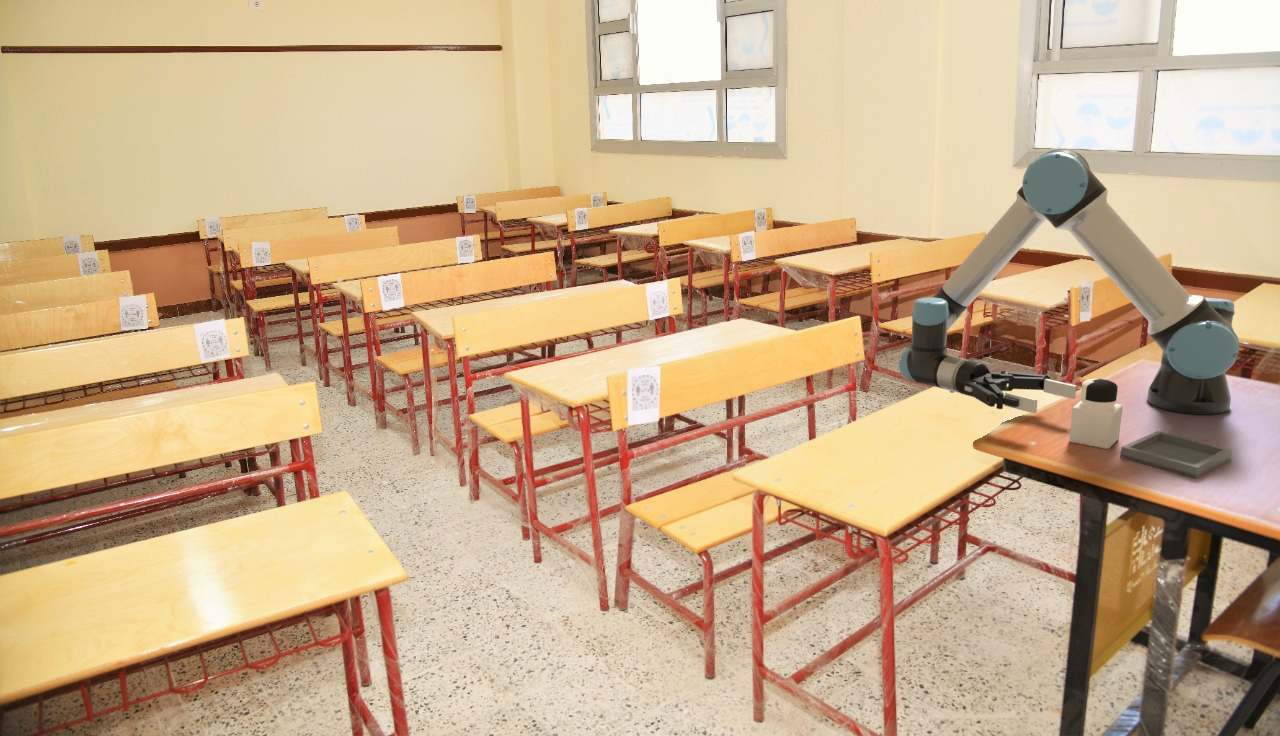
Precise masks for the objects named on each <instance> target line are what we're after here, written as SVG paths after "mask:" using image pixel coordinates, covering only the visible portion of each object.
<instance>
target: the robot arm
mask: <svg viewBox="0 0 1280 736" xmlns="http://www.w3.org/2000/svg"><path fill="white" fill-rule="evenodd" d="M1090 168H1091V167H1090V166H1089V163H1088V162H1087V160H1086V158H1085V157H1084V156H1082V154H1080V153H1079V152H1077V151H1075V150H1072V149H1068V148H1057V149H1053V150H1050V151H1048V152H1045V153H1043V154H1041V155H1039V156H1038V157H1037V158H1035V159H1034V160H1033V161H1032V162H1031V163H1030V164H1028V167H1027V168H1026V170H1025V171H1024V174H1023V177H1022V184H1021V185H1022V186H1021V187H1020V188H1019V189H1018V190H1017V191H1016V200H1015V201H1013V203H1012V204H1011V206H1010V207H1009V208H1008V209H1007V210H1006V212H1005V213H1004V214H1003V215H1002V216H1001V217H1000V219H999V220H998V221H997V222H996V223H995V224H994V225H993V227H992V228H990V230H989V231H988V232H987V234H986V235H985V236H984V237H983V238H982V240H981V241H980V242H979V243H978V244H977V245H976V247H974V249H973V250H972V251H971V252H970V253H969V254H968V256H967V257H966V258H965V259H964V261H963V262H962V263H961V264H960V265H959V266H958V267H957V269H956V270H955V271H954V272H953V273H952V274H951V276H949V277H948V279H947V280H946V282H945V283H944V284H943V285H942V286H941V287H940V288H939V289H938V291H937V292H936V293H935V294H934V295H933V296H932V297H931V296H930V297H927V296H926V297H922V298H918V299H915V301H914V302H913V306H912V307H913V308H912V313H911V318H912V319H911V322H912V324H911V346H910V347H908V348H906V349H905V350H903V352H902V354H901V356H900V358H901V359H899V361H898V369H899V373H900V374H901V376H902V377H903V378H905V379H907V380H910V381H913V382H915V383H917V384H923V385H926V386H931V387H935V388H938V389H942V390H943V389H944V390H945V391H946V390H947V391H949V393H951V394H953V393H958V394H961V395H965V396H968V397H972V398H974V399H976V400H978V401H979V402H981V403H983V404H985V405H986V406H988V407H991V408H993V407H995V408H996V409H998V410H1002V409H1003V408H1004V407H1008V408H1011V409H1015V410H1020V411H1023V412H1027V413H1031V414H1036V413H1038V412H1037V411H1038V410H1037V409H1038V402H1039V401H1038V399H1037V398H1033V397H1030V396H1029V397H1028V396H1024V395H1020V394H1018V393H1013V392H1012V391H1013V390H1030V391H1035V390H1036V391H1043V393H1047V394H1052V395H1055V396H1059V397H1063V398H1067V399H1071V400H1075V399H1076V396H1077V386H1078V385H1075V384H1071V383H1067V382H1062V381H1058V380H1053V379H1051V375H1049V374H1047V373H1045V374H1037V373H1027V372H1026V373H1025V372H1017V371H1008V370H1005V369H1003V370H1000V372H990V369H989V368H988V366H987V365H986V364H985V363H983V362H978V361H975V360H969V359H967V358H962V357H959V356H958V357H957V356H953V355H948V354H946V350H947V338H948V330H949V329H950V328H951V327H952V325H953V324H954V323H955V322H957V321H958V319H959V318H960V317H961V315H963V313H964V312H965V311H966V310H967V309H968V308H969V306H970V305H971V304H972V302H974V301H975V300H976V299H977V298H978V296H979V295H980V294H981V293H982V292H983V291H984V290H985V288H986V287H987V286H988V285H989V284H990V283H991V282H992V281H993V279H994V278H995V277H996V276H997V275H998V274H999V273H1000V272H1001V271H1002V269H1003V268H1004V267H1005V266H1006V265H1007V264H1008V263H1009V262H1010V261H1011V259H1012V258H1013V257H1015V255H1016V254H1017V253H1018V251H1020V249H1021V248H1022V247H1024V245H1025V244H1026V243H1027V242H1028V241H1029V240H1030V239H1031V237H1032V236H1033V235H1034V234H1035V233H1036V232H1037V230H1038V229H1039V228H1041V226H1042V225H1044V223H1045V222H1046V221H1048V222H1049V223H1050V224H1051V225H1052V226H1053V227H1054V229H1055V230H1062V231H1068V232H1069V233H1070V234H1071V235H1072V236H1073V237H1074V239H1075V240H1076V241H1077V242H1078V243H1079V244H1080V246H1081V247H1083V249H1084V250H1085V252H1087V254H1088V255H1089V256H1090V257H1091V258H1092V259H1093V260H1094V261H1095V263H1097V265H1098V266H1099V267H1100V268H1101V269H1102V271H1103V272H1104V273H1105V274H1106V275H1107V276H1108V278H1109V279H1111V280H1112V282H1113V283H1114V284H1115V285H1116V286H1117V287H1118V288H1119V290H1120V291H1121V292H1122V293H1123V294H1124V295H1125V296H1126V297H1127V299H1128V300H1129V301H1130V302H1131V303H1132V305H1134V307H1135V308H1136V309H1137V310H1138V311H1139V312H1140V313H1141V314H1142V315H1143V317H1144V318H1145V319H1146V320H1147V321H1148V326H1147V333H1148V335H1149V336H1150V337H1151V338H1152V340H1153V341H1154V342H1155V343H1156V344H1157V346H1158V347H1159V348H1160V349H1161V350H1162V353H1161V362H1160V365H1159V368H1158V370H1157V372H1156V374H1155V376H1154V378H1153V380H1152V382H1151V383H1150V386H1149V387H1148V391H1147V396H1146V397H1147V398H1146V400H1147V402H1149V403H1150V404H1152V405H1153V406H1155V407H1158V408H1161V409H1163V410H1167V411H1172V412H1177V413H1181V414H1182V413H1183V414H1191V415H1216V414H1217V415H1218V414H1222V413H1225V412H1226V413H1227V412H1228V411H1229V410H1230V409H1231V401H1232V398H1231V397H1232V396H1231V392H1230V389H1229V384H1228V380H1227V375H1226V372H1227V371H1228V370H1229V369H1230V368H1231V367H1232V366H1233V365H1234V364H1235V362H1236V361H1237V358H1238V356H1239V351H1240V342H1239V337H1238V335H1237V333H1235V331H1234V328H1233V319H1234V315H1235V314H1236V313H1235V312H1236V311H1235V304H1234V302H1233V301H1232V300H1229V299H1225V298H1215V297H1214V298H1213V297H1204V295H1196V294H1190V293H1189V292H1188V291H1187V290H1186V289H1185V287H1183V286H1182V284H1181V283H1180V282H1179V281H1178V280H1177V278H1175V277H1174V275H1173V274H1172V273H1171V272H1170V271H1169V270H1168V269H1167V268H1166V267H1165V265H1164V264H1163V263H1162V262H1161V260H1159V259H1158V257H1157V256H1156V255H1155V254H1154V253H1153V252H1152V251H1151V250H1150V248H1148V247H1147V245H1146V244H1145V243H1144V242H1143V241H1142V239H1141V238H1139V236H1138V235H1137V234H1136V233H1135V231H1133V229H1132V228H1131V227H1130V226H1129V225H1128V224H1127V223H1126V222H1125V220H1123V219H1122V217H1120V215H1119V214H1118V213H1117V211H1115V209H1114V208H1113V207H1112V206H1111V205H1110V204H1109V203H1108V200H1107V199H1108V198H1107V197H1108V192H1109V191H1108V188H1106V186H1105V185H1104V184H1103V183H1102V182H1101V181H1100V180H1099V179H1098V177H1097V176H1096V175H1095V174H1094V173H1093V172H1092V170H1091V169H1090ZM995 405H996V406H995Z"/></svg>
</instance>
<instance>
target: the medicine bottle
mask: <svg viewBox="0 0 1280 736" xmlns="http://www.w3.org/2000/svg"><path fill="white" fill-rule="evenodd" d="M1081 383H1082V384H1081V393H1080V401H1079V402H1077V403H1076V404H1075V405H1074V406H1072V409H1071V419H1070V428H1069V438H1068V441H1069V442H1070V443H1074V444H1079V445H1083V444H1084V445H1083V446H1089V447H1093V446H1094V447H1093V448H1098V447H1099V449H1104V450H1109V449H1110V448H1111V447H1112V446H1113V445H1114V444H1115V443H1116V442H1117V441H1118V440H1119V438H1120V431H1121V422H1122V415H1123V405H1122V404H1121V403H1117V398H1118V388H1119V386H1118V384H1117V383H1115V382H1113V381H1111V380H1108V379H1105V378H1090V379H1087V380H1086V379H1085V380H1084V381H1083V382H1081Z"/></svg>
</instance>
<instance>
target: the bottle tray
mask: <svg viewBox="0 0 1280 736" xmlns="http://www.w3.org/2000/svg"><path fill="white" fill-rule="evenodd" d="M1232 454H1233V449H1230V448H1226V447H1223V446H1220V445H1215V444H1210V443H1207V442H1202V441H1199V440H1195V439H1192V438H1188V437H1187V438H1186V437H1184V436H1180V435H1174V434H1171V433H1167V432H1164V431H1159V430H1156V431H1154V432H1151V433H1150V434H1148V435H1145V436H1143V437H1141V438H1138V439H1136V440H1134V441H1132V442H1130V443H1128V444H1125V445H1123V446H1121V449H1120V456H1119V457H1120V458H1122V457H1123V458H1122V459H1125V458H1126V460H1130V461H1133V462H1137V463H1140V464H1143V465H1146V464H1147V466H1151V467H1154V468H1158V469H1160V470H1164V469H1165V471H1168V472H1172V473H1176V474H1178V475H1182V476H1185V477H1189V478H1193V479H1198V478H1200V477H1202V476H1203V475H1205V474H1208V473H1209V472H1210V471H1212V470H1215V469H1217V468H1218V467H1220V466H1223V465H1224V464H1226V463H1228V462H1230V461H1231V460H1232Z"/></svg>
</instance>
